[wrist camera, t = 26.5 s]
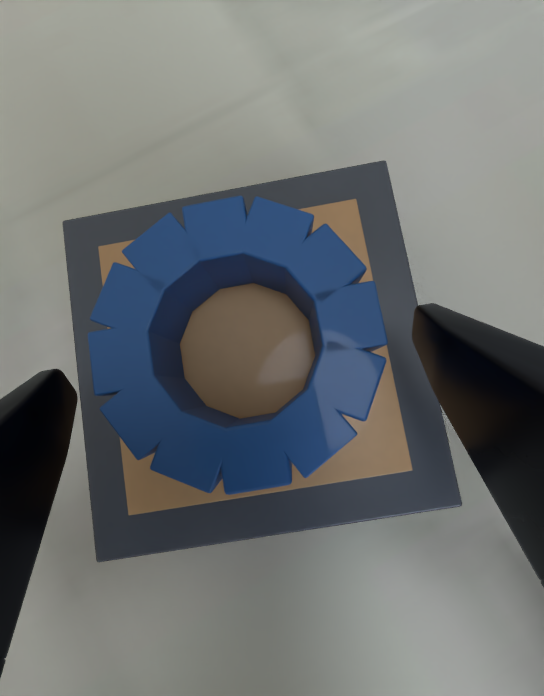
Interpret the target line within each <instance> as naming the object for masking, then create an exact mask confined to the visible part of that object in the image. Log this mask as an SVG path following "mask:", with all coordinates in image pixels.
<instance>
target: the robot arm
mask: <svg viewBox="0 0 544 696" xmlns="http://www.w3.org/2000/svg"><path fill="white" fill-rule="evenodd" d="M412 340H413V343H414V346H415V348H416V351H417V353H418V355H419V358H420V360H421V363H422V365H423V368H424V370H425V373H426V375H427V377H428V380H429V382H430V385H431V387H432V389H433V391H434V393H435V395H436V397H437V399H438V401H439V403H440V404H441V406H442V408H443V410H444V412H445V413H446V415H447V417H448V419H449V420H450V422H451V424H452V426H453V427H454V429H455V431H456V433H457V435H458V436H459V438H460V440H461V442H462V443H463V445H464V447H465V449H466V450H467V452H468V454H469V456H470V458H471V459H472V461H473V463H474V465H475V466H476V468H477V470H478V472H479V473H480V475H481V477H482V479H483V481H484V482H485V484H486V486H487V488H488V489H489V491H490V493H491V495H492V497H493V498H494V500H495V502H496V504H497V505H498V507H499V509H500V511H501V512H502V514H503V516H504V518H505V520H506V521H507V523H508V525H509V527H510V528H511V530H512V532H513V534H514V535H515V537H516V539H517V541H518V543H519V544H520V546H521V548H522V550H523V551H524V553H525V555H526V557H527V558H528V560H529V562H530V564H531V566H532V567H533V569H534V571H535V573H536V574H537V576H538V578H539V579H540V580H542V581H541V584H542V586H543V587H544V346H541V345H538V344H536V343H533V342H531V341H528V340H526V339H523V338H521V337H518V336H516V335H513V334H511V333H508V332H505V331H503V330H500V329H498V328H495V327H493V326H490V325H488V324H485V323H483V322H480V321H478V320H475V319H472V318H470V317H467V316H465V315H462V314H460V313H457V312H455V311H452V310H450V309H447V308H444V307H442V306H439V305H437V304H434V303H430V304H425V305H419V306H417V307H416V308H415V310H414V317H413V327H412ZM76 406H77V393H76V391H75V389H74V388H73V386H72V385H71V383H70V382H69V380H68V379H67V378H66V376H65V375H64V373H63V372H62V371H61V370H59V369H51V370H46V371H41V372H39V373H38V374H36V375H35V376H33V377H32V378H31V379H29V380H28V381H26V382H25V383H23V384H22V385H20V386H19V387H18V388H16V389H15V390H13V391H12V392H10V393H9V394H8V395H6V396H5V397H3V398H2V399H0V677H1V674H2V671H3V667H4V664H5V658H6V656H7V653H8V650H9V647H10V643H11V640H12V637H13V633H14V630H15V627H16V623H17V620H18V617H19V613H20V610H21V607H22V603H23V600H24V597H25V594H26V590H27V587H28V584H29V580H30V577H31V574H32V570H33V567H34V564H35V560H36V557H37V554H38V550H39V547H40V544H41V540H42V537H43V534H44V530H45V527H46V524H47V521H48V517H49V514H50V511H51V507H52V504H53V501H54V497H55V494H56V491H57V487H58V484H59V481H60V477H61V474H62V471H63V467H64V464H65V461H66V457H67V453H68V449H69V444H70V439H71V433H72V428H73V422H74V417H75V411H76Z"/></svg>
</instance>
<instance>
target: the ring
mask: <svg viewBox="0 0 544 696" xmlns="http://www.w3.org/2000/svg"><path fill="white" fill-rule="evenodd" d="M182 213H183V220H184V227H185V229H184V228H183V226H182V225H181V224H180V223H179V222H178V220H177V219H176V218H175V217H174V216H173V215H172V213H170V212H169V213H168V214H166V215H165V216H164V217H163V218H161V219H160V220H159V221H158V222H156V223H155V224H154V225H153V226H151V227H150V228H149V229H148V230H147V231H145V232H144V233H143V234H142V235H140V236H139V237H138V238H137V239H135V240H134V241H133V242H132V243H130V244H129V245H128V246H127V247H126V248H124V249H123V250H122V253H123V254H124V256H125V257H126V258H127V259H128V261H129V262H130V263H131V264H132V265H133V267H134V268H135V269H134V268H131V267H128V266H125V265H122V264H120V263H117V262H114V263H113V264H112V266H111V269H110V271H109V273H108V276H107V278H106V281H105V283H104V285H103V288H102V290H101V292H100V295H99V297H98V300H97V302H96V304H95V307H94V309H93V311H92V314H91V316H90V320H91V321H93V322H96V323H98V324H101V325H104V326H107V327H109V328H110V329H104V330H99V331H93V332H89V333H88V343H89V352H90V361H91V370H92V379H93V389H94V394H95V396H111V395H115V396H113V397H112V398H111V399H110V400H108V401H107V402H106V403H105V404H104V405H102V406H101V407H100V411H101V412H102V413H103V415H104V416H105V417H106V419H107V420H108V422H109V423H110V424H111V426H112V427H113V428H114V430H115V431H116V432H117V434H118V435H119V436H120V438H121V439H122V440H123V442H124V443H125V444H126V446H127V447H128V448H129V450H130V451H131V452H132V454H133V455H134V456H135V458H136V459H137V460H141V459H143V458H145V457H147V456H149V455H151V454H153V453H155V455H154V457H153V460H152V462H151V465H150V469H151V470H152V471H155V472H157V473H160V474H162V475H165V476H167V477H169V478H172V479H174V480H177V481H179V482H182V483H184V484H187V485H189V486H192V487H194V488H197V489H199V490H201V491H204V492H206V493H212V491H213V490H214V489H215V488H216V486H217V485H218V484H219V482H220V481H221V480H222V479H223V486H224V492H225V493H226V494H227V495H232V494H238V493H244V492H250V491H256V490H263V489H269V488H275V487H281V486H287V485H290V484H291V483H292V463H293V465H294V466H295V467H296V468H297V470H298V471H299V472H300V473H301V475H302V476H303V477H304V478H307V477H309V476H310V475H311V474H312V473H313V472H315V471H316V470H317V469H318V468H319V467H320V466H322V465H323V464H324V463H325V462H326V461H327V460H329V459H330V458H331V457H332V456H333V455H334V454H336V453H337V452H338V451H339V450H340V449H342V448H343V447H344V446H345V445H346V444H347V443H349V442H350V441H351V440H352V439H353V438H354V437H356V436H357V432H356V431H355V429H354V428H353V427H352V426H351V425H350V424H349V422H348V421H347V420H346V419H345V418H344V416H343V415H342V414H344V415H346V416H349V417H352V418H354V419H357V420H360V421H366V420H367V418H368V415H369V412H370V409H371V406H372V403H373V400H374V397H375V394H376V391H377V388H378V385H379V382H380V379H381V376H382V373H383V370H384V367H385V364H386V358H385V357H383V356H380V355H378V354H375V353H372V351H374V350H377V349H379V348H381V347H383V346H385V345H387V344H388V340H387V335H386V331H385V326H384V321H383V317H382V312H381V307H380V303H379V298H378V293H377V289H376V284H375V282H374V281H367V282H362V283H359V281H360V280H361V278H362V277H363V275H364V274H365V272H366V270H367V268H366V266H365V265H364V264H363V263H362V261H361V260H360V259H359V258H358V257H357V256H356V255H355V254H354V253H353V252H352V251H351V249H350V248H349V247H348V246H347V245H346V244H345V243H344V242H343V241H342V240H341V239H340V237H339V236H338V235H337V234H336V233H335V232H334V231H333V230H332V229H331V228H330V227H329V225H328V224H326V223H325V224H323V225H321V226H320V227H319V228H318V229H317V230H315V231H314V232H313V233H312V230H313V222H314V215H313V214H311V213H308V212H304V211H301V210H298V209H295V208H292V207H289V206H286V205H283V204H280V203H276V202H273V201H270V200H267V199H264V198H261V197H258V196H256V197H255V198H254V200H253V203H252V205H251V208H250V211H249V213H248V214H247V210H246V206H245V202H244V198H243V197H242V196H235V197H229V198H224V199H219V200H214V201H209V202H204V203H198V204H193V205H188V206H184V207H182ZM250 283H255V284H258V285H261V286H264V287H267V288H270V289H272V290H275V291H278V292H281V293H284V294H286V295H287V296H288V297H289V298H290V299H291V300H292V302H293V303H294V304H295V305H296V306H297V307H298V308H299V310H300V311H301V312H302V313H303V314H304V315H305V316H306V318H307V319H308V320H309V324H310V330H311V335H312V340H313V346H314V351H315V358H314V360H313V363H312V366H311V369H310V372H309V374H308V377H307V380H306V383H305V386H304V388H303V390H302V391H300V392H299V393H298V394H297V395H296V396H294V397H293V398H292V399H291V400H290V401H289V402H287V403H286V404H285V405H284V406H283V407H281V408H280V409H279V410H278V411H277V412H275V413H270V414H264V415H258V416H253V417H247V418H241V419H239V418H237V417H234V416H232V415H229V414H226V413H224V412H221V411H218V410H216V409H213V408H211V407H208V406H206V404H205V403H204V402H203V401H202V399H201V398H200V397H199V396H198V394H197V393H196V392H195V391H194V389H193V388H192V387H191V385H190V384H189V383H188V382H187V380H186V379H185V377H184V370H183V363H182V356H181V349H180V342H181V339H182V337H183V334H184V332H185V329H186V327H187V324H188V322H189V319H190V316H191V314H192V311H194V310H195V309H196V308H197V307H199V306H200V305H201V304H202V303H203V302H205V301H206V300H207V299H208V298H210V297H211V296H212V295H213V294H214V293H216V292H217V291H218V290H219V289H223V288H228V287H234V286H239V285H244V284H250Z"/></svg>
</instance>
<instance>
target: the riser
mask: <svg viewBox="0 0 544 696" xmlns="http://www.w3.org/2000/svg"><path fill="white" fill-rule="evenodd" d="M235 196H242V197H243V198H244V202H245V206H246V210H247V214H248V213H249V211H250V208H251V205H252V203H253V200H254V198H255V197H256V196H258V197H261V198H264V199H267V200H270V201H273V202H276V203H280V204H283V205H286V206H289V207H292V208H295V209H298V210H301V211H304V212H308V213H311V214H313V215H314V222H313V230H312V233H313V232H314V231H315V230H317V229H318V228H319V227H320V226H321V225H323V224H325V223H326V224H328V225H329V227H330V228H331V229H332V230H333V231H334V232H335V233H336V234H337V235H338V236H339V237H340V239H341V240H342V241H343V242H344V243H345V244H346V245H347V246H348V247H349V248H350V249H351V251H352V252H353V253H354V254H355V255H356V256H357V257H358V258H359V259H360V260H361V261H362V263H363V264H364V265H365V266H366V268H367V270H366V272H365V274H364V275H363V277H362V278H361V280H360V281H359V283H362V282H367V281H374V282H375V284H376V289H377V293H378V298H379V303H380V307H381V312H382V317H383V321H384V326H385V331H386V335H387V340H388V344H387V345H385V346H383V347H381V348H379V349H377V350H374V351H372V353H375V354H378V355H380V356H383V357H385V358H386V364H385V367H384V370H383V373H382V376H381V379H380V382H379V385H378V388H377V391H376V394H375V397H374V400H373V403H372V406H371V409H370V412H369V415H368V418H367V420H366V421H360V420H357V419H354V418H352V417H349V416H346V415H344V414H342V415H343V416H344V418H345V419H346V420H347V421H348V422H349V424H350V425H351V426H352V427H353V428H354V429H355V431H356V432H357V436H356V437H354V438H353V439H352V440H351V441H350V442H349V443H347V444H346V445H345V446H344V447H343V448H342V449H340V450H339V451H338V452H337V453H336V454H334V455H333V456H332V457H331V458H330V459H329V460H327V461H326V462H325V463H324V464H323V465H322V466H320V467H319V468H318V469H317V470H316V471H315V472H313V473H312V474H311V475H310V476H309V477H307V478H304V477H303V476H302V475H301V473H300V472H299V471H298V470H297V468H296V467H295V466H294V465H293V463H292V483H291V484H290V485H287V486H281V487H275V488H269V489H263V490H256V491H250V492H244V493H238V494H232V495H227V494H226V493H225V492H224V486H223V479H222V480H221V481H220V482H219V484H218V485H217V486H216V488H215V489H214V490H213V491H212V493H206V492H204V491H201V490H199V489H197V488H194V487H192V486H189V485H187V484H184V483H182V482H179V481H177V480H174V479H172V478H169V477H167V476H165V475H162V474H160V473H157V472H155V471H152V470H151V469H150V465H151V462H152V460H153V457H154V455H155V453H153V454H151V455H149V456H147V457H145V458H143V459H141V460H137V459H136V458H135V456H134V455H133V454H132V452H131V451H130V450H129V448H128V447H127V446H126V444H125V443H124V442H123V440H122V439H121V438H120V436H119V435H118V434H117V432H116V431H115V430H114V428H113V427H112V426H111V424H110V423H109V422H108V420H107V419H106V417H105V416H104V415H103V413H102V412H101V411H100V407H101V406H102V405H104V404H105V403H106V402H107V401H108V400H110V399H111V398H112V397H113V396H115V395H111V396H95V394H94V389H93V379H92V370H91V361H90V352H89V343H88V333H89V332H93V331H99V330H104V329H110V328H109V327H107V326H104V325H101V324H98V323H96V322H93V321H91V320H90V316H91V314H92V311H93V309H94V307H95V304H96V302H97V300H98V297H99V295H100V292H101V290H102V288H103V285H104V283H105V281H106V278H107V276H108V273H109V271H110V269H111V266H112V264H113V263H114V262H117V263H120V264H122V265H125V266H128V267H131V268H134V267H133V265H132V264H131V263H130V262H129V261H128V259H127V258H126V257H125V256H124V254H123V253H122V250H123V249H124V248H126V247H127V246H128V245H129V244H130V243H132V242H133V241H134V240H135V239H137V238H138V237H139V236H140V235H142V234H143V233H144V232H145V231H147V230H148V229H149V228H150V227H151V226H153V225H154V224H155V223H156V222H158V221H159V220H160V219H161V218H163V217H164V216H165V215H166V214H168V213H169V212H170V213H172V215H173V216H174V217H175V218H176V219H177V220H178V222H179V223H180V224H181V225H182V226H183V228H184V229H185V227H184V220H183V213H182V207H184V206H188V205H193V204H198V203H204V202H209V201H214V200H219V199H224V198H229V197H235ZM63 231H64V241H65V251H66V261H67V271H68V281H69V291H70V301H71V311H72V321H73V331H74V341H75V351H76V361H77V371H78V381H79V391H80V400H81V410H82V420H83V430H84V440H85V450H86V460H87V470H88V480H89V490H90V500H91V510H92V520H93V530H94V540H95V550H96V560H97V562H104V561H110V560H117V559H123V558H129V557H136V556H142V555H149V554H155V553H162V552H168V551H175V550H181V549H188V548H194V547H201V546H207V545H214V544H220V543H227V542H233V541H240V540H246V539H253V538H259V537H266V536H272V535H279V534H285V533H291V532H298V531H304V530H311V529H317V528H324V527H330V526H337V525H343V524H350V523H356V522H363V521H369V520H376V519H382V518H389V517H395V516H402V515H408V514H415V513H421V512H428V511H434V510H441V509H447V508H453V507H460V506H462V501H461V497H460V492H459V488H458V483H457V479H456V474H455V470H454V465H453V461H452V456H451V452H450V447H449V443H448V438H447V434H446V429H445V425H444V420H443V416H442V411H441V407H440V403H439V401H438V399H437V397H436V395H435V393H434V391H433V389H432V387H431V385H430V382H429V380H428V377H427V375H426V373H425V370H424V368H423V365H422V363H421V360H420V358H419V355H418V353H417V351H416V348H415V346H414V343H413V340H412V327H413V317H414V310H415V308H416V307H417V306H418V303H417V299H416V294H415V290H414V285H413V281H412V276H411V272H410V267H409V262H408V258H407V253H406V249H405V244H404V240H403V235H402V231H401V226H400V222H399V217H398V213H397V208H396V204H395V199H394V195H393V190H392V186H391V181H390V177H389V172H388V168H387V163H386V161H379V162H373V163H368V164H363V165H357V166H352V167H347V168H341V169H336V170H331V171H326V172H320V173H315V174H310V175H304V176H299V177H294V178H288V179H283V180H278V181H273V182H267V183H262V184H257V185H251V186H246V187H241V188H235V189H230V190H225V191H220V192H214V193H209V194H204V195H198V196H193V197H188V198H182V199H177V200H172V201H167V202H161V203H156V204H151V205H145V206H140V207H135V208H129V209H124V210H119V211H114V212H108V213H103V214H98V215H92V216H87V217H82V218H76V219H71V220H66V221H63ZM134 269H135V268H134ZM180 349H181V356H182V363H183V370H184V377H185V379H186V380H187V382H188V383H189V384H190V385H191V387H192V388H193V389H194V391H195V392H196V393H197V394H198V396H199V397H200V398H201V399H202V401H203V402H204V403H205V404H206V406H208V407H211V408H213V409H216V410H218V411H221V412H224V413H226V414H229V415H232V416H234V417H237V418H239V419H241V418H247V417H253V416H258V415H264V414H270V413H275V412H277V411H278V410H279V409H280V408H281V407H283V406H284V405H285V404H286V403H287V402H289V401H290V400H291V399H292V398H293V397H294V396H296V395H297V394H298V393H299V392H300V391H302V390H303V388H304V386H305V383H306V380H307V377H308V374H309V372H310V369H311V366H312V363H313V360H314V358H315V351H314V346H313V340H312V335H311V330H310V324H309V320H308V319H307V318H306V316H305V315H304V314H303V313H302V312H301V311H300V310H299V308H298V307H297V306H296V305H295V304H294V303H293V302H292V300H291V299H290V298H289V297H288V296H287V295H286V294H284V293H281V292H278V291H275V290H272V289H270V288H267V287H264V286H261V285H258V284H255V283H250V284H244V285H239V286H234V287H228V288H223V289H219V290H218V291H217V292H216V293H214V294H213V295H212V296H211V297H210V298H208V299H207V300H206V301H205V302H203V303H202V304H201V305H200V306H199V307H197V308H196V309H195V310H194V311H192V314H191V316H190V319H189V322H188V324H187V327H186V329H185V332H184V334H183V337H182V339H181V342H180Z"/></svg>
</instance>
